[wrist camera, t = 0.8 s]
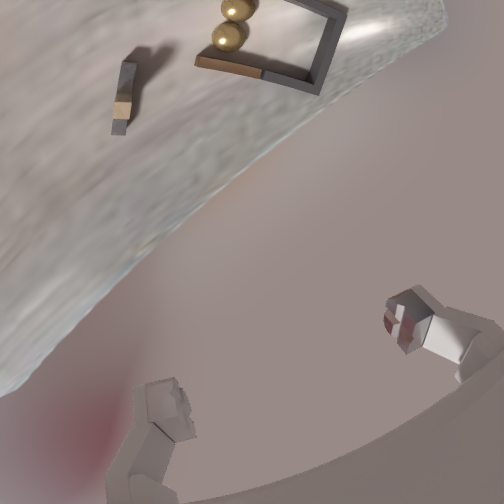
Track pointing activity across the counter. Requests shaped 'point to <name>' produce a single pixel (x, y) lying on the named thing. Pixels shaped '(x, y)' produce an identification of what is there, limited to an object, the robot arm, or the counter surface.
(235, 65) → the walnut slot rails
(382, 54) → the counter surface
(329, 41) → the grey angled bracket
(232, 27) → the brass chip
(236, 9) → the brass chip
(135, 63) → the grey post with peg
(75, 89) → the counter surface
